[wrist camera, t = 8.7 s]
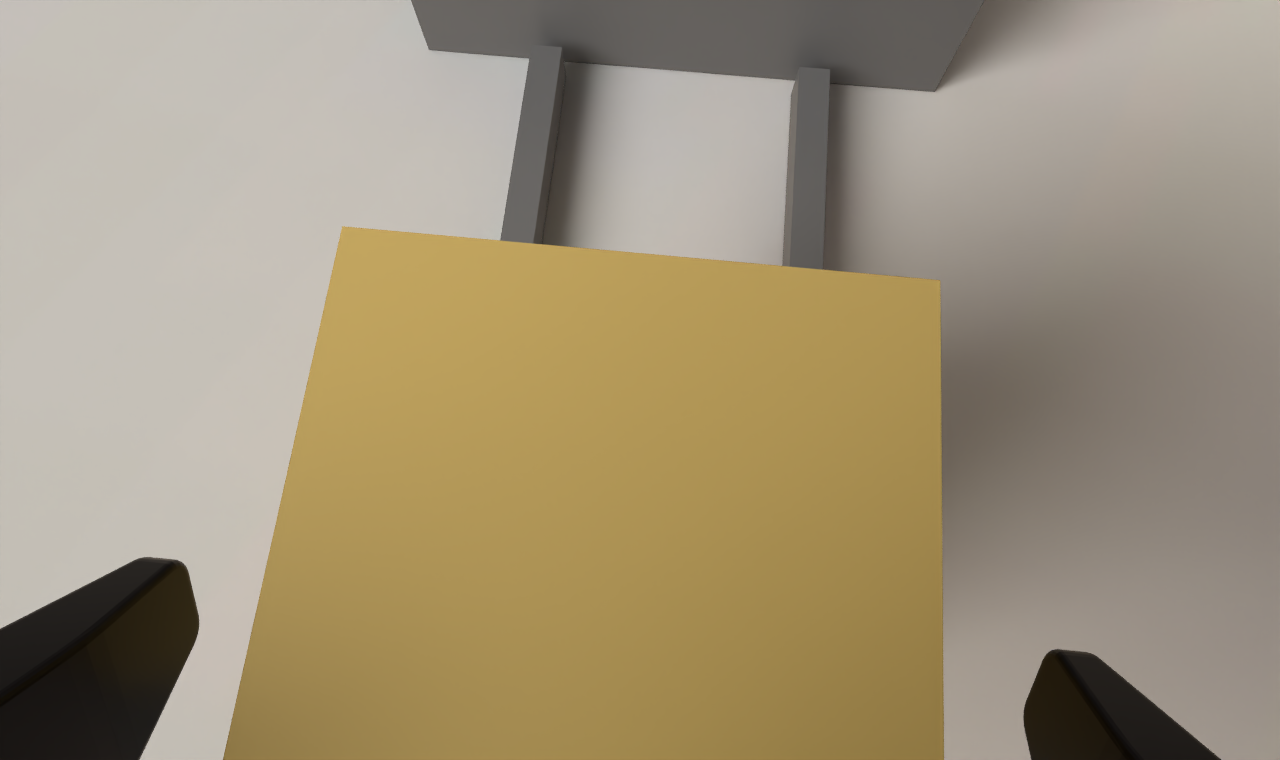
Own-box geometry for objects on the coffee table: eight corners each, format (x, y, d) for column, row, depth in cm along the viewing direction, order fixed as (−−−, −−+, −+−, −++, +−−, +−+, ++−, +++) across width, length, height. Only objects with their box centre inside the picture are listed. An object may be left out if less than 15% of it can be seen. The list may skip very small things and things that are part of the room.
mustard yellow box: (738, 704, 18) (945, 852, 6) (498, 679, 18) (219, 775, 6) (750, 500, 19) (941, 280, 7) (526, 478, 19) (342, 225, 7)
